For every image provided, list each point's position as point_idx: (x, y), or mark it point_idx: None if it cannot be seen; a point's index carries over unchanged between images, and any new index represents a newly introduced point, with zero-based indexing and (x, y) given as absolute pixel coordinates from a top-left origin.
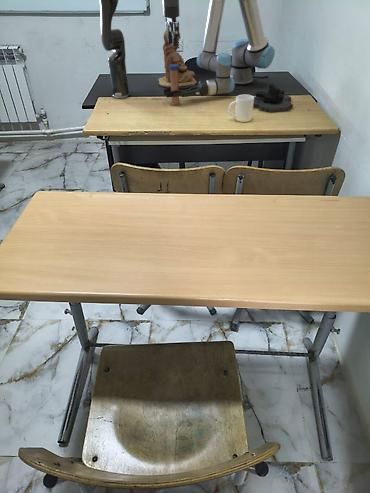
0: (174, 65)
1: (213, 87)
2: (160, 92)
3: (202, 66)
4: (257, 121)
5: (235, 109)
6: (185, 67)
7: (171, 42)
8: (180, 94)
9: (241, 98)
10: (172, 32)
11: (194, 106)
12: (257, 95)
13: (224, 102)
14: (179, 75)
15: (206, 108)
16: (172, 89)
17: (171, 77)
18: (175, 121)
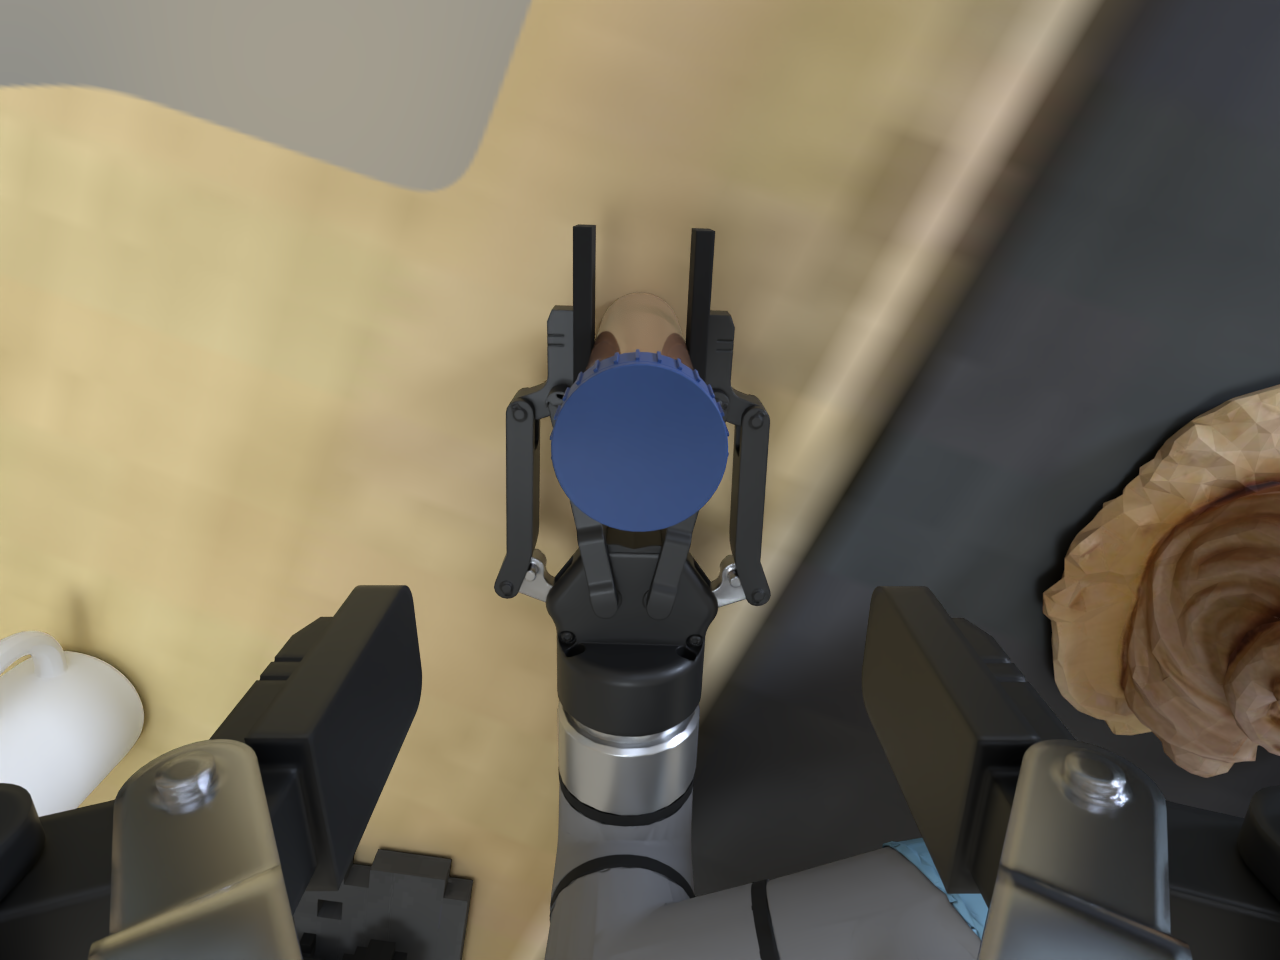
0: (620, 459)
1: (559, 746)
2: (1090, 308)
3: (876, 855)
4: None
5: (27, 697)
6: (1259, 732)
7: (871, 681)
8: (535, 389)
9: (40, 810)
10: (123, 927)
11: (503, 479)
12: (366, 953)
13: (505, 728)
14: (1211, 612)
15: (414, 553)
16: (609, 325)
17: (610, 348)
18: (151, 162)
